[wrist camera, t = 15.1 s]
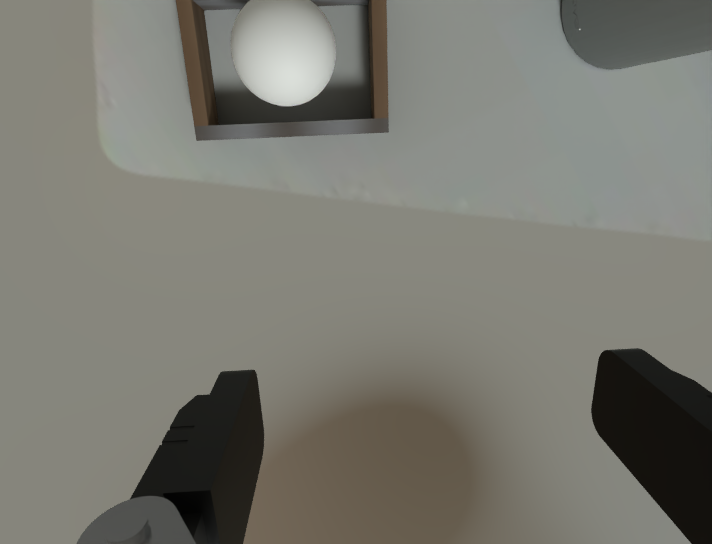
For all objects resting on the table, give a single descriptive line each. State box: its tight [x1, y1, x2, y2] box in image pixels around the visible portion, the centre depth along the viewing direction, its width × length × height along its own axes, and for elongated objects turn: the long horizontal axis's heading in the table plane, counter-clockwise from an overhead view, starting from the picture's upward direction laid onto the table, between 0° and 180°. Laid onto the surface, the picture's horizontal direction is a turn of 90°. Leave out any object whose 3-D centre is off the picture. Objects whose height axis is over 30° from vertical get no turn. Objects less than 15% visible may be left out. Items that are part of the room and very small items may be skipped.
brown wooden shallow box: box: [176, 0, 389, 141], centre depth 32 cm, size 14×10×3 cm
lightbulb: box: [231, 0, 336, 106], centre depth 28 cm, size 6×6×11 cm
